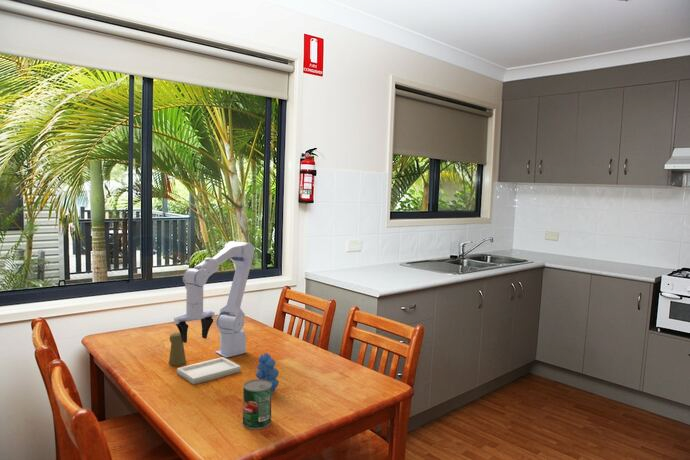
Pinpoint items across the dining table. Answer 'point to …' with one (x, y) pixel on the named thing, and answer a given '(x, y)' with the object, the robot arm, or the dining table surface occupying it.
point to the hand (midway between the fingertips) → (194, 340)
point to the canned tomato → (257, 404)
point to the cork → (176, 350)
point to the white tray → (208, 370)
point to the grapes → (267, 370)
